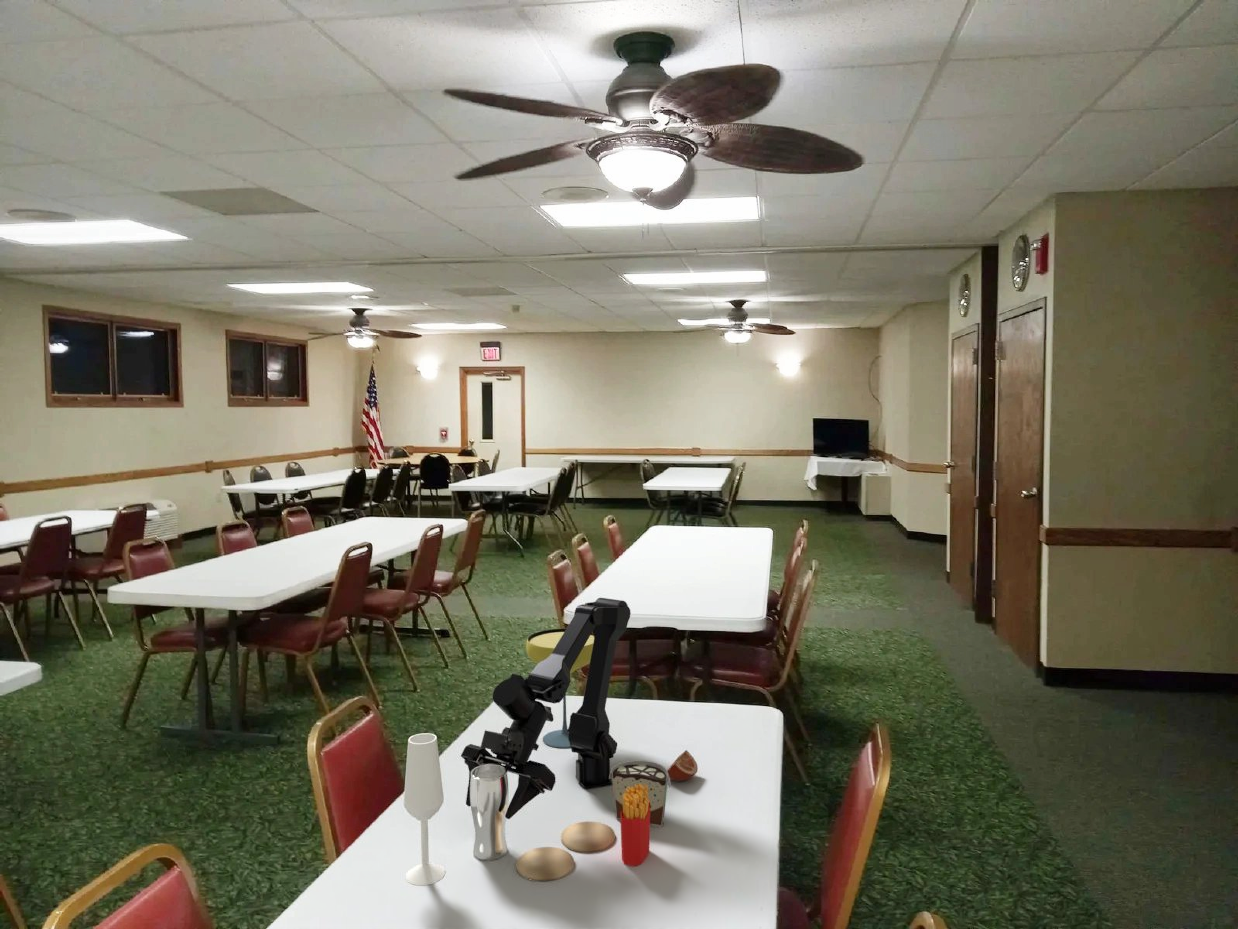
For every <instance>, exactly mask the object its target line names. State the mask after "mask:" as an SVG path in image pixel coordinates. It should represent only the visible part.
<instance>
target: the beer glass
mask: <svg viewBox="0 0 1238 929" xmlns="http://www.w3.org/2000/svg"><path fill="white" fill-rule="evenodd" d="M502 765H503V764H501V765H499V764H484V765H480V766H478V767H475V768H474V769H473V770H472V771H471V780H470V805H471V806H470V811H471V816H472V820H473V821H472V822H473V826H474V827H473V828H474V833H475V836H474V837H475V838H474V845H473V852H472V853H473V856H474V857H475V858H476V859H478V860H480V861H487V860H490V861H497V860H499V859H501V858H503V857H505V855H506V854H507V852H508V845H507V839H506V821H507V818H506V817H505V815H506V812H507V809H508V807H509V804H510V802H509V800H510V786H509V784H510V783H509V775H508V772H507V768H506V767H505V765H504V766H502ZM490 861H489V862H490ZM487 862H488V861H487Z"/></svg>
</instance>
